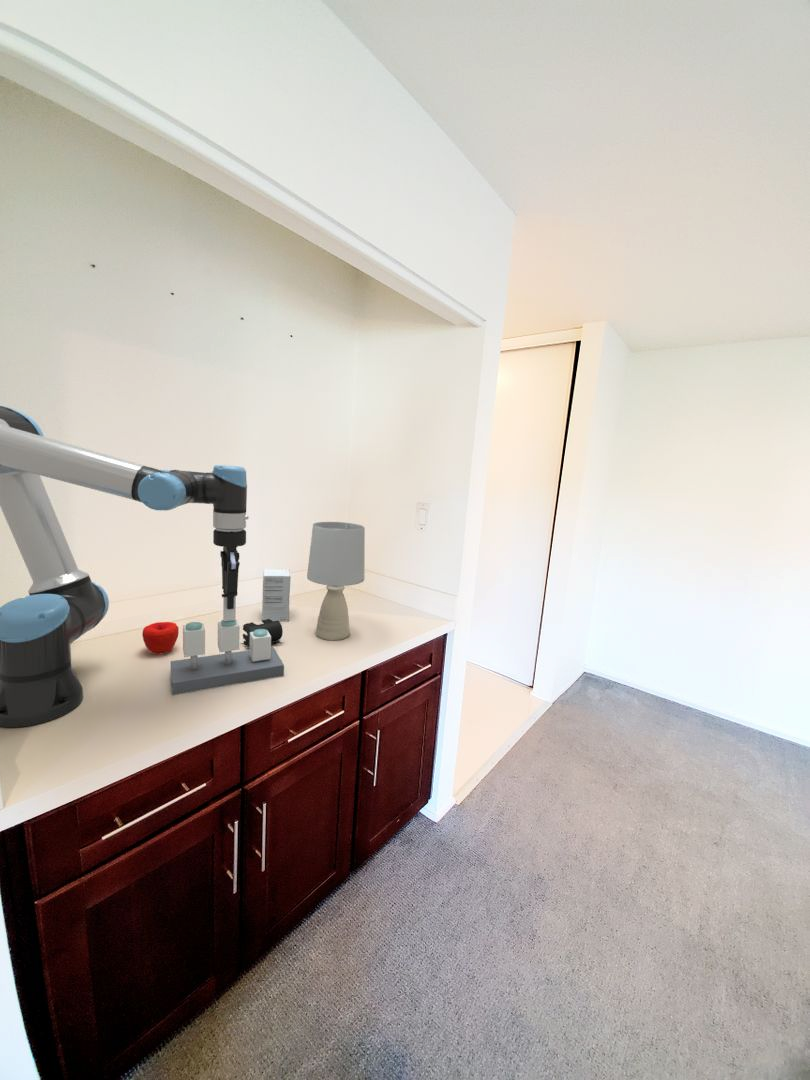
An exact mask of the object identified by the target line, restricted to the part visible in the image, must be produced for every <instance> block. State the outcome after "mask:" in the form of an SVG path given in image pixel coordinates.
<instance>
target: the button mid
mask: <svg viewBox="0 0 810 1080" xmlns="http://www.w3.org/2000/svg"><path fill="white" fill-rule="evenodd" d="M240 627H241V626H240V624H239V622H238V620H237V619H235V620H231V621H224V620H223V619H221V621H217V647H218V651H219V653H225V652H226V651H238V650H240V632H241V631H240Z"/></svg>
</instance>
